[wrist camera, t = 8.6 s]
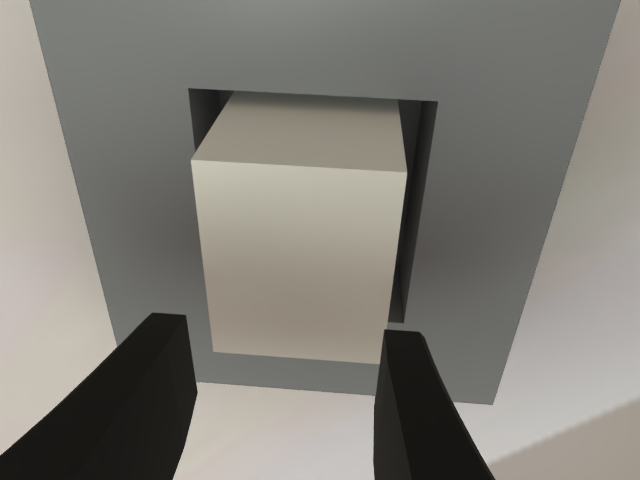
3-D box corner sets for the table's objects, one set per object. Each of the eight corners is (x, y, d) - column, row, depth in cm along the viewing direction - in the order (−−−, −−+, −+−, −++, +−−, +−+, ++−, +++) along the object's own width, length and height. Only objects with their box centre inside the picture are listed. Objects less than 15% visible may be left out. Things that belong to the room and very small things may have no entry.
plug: (394, 79, 14) (407, 172, 10) (378, 235, 17) (381, 364, 13) (246, 71, 15) (190, 160, 10) (254, 227, 17) (213, 351, 13)
